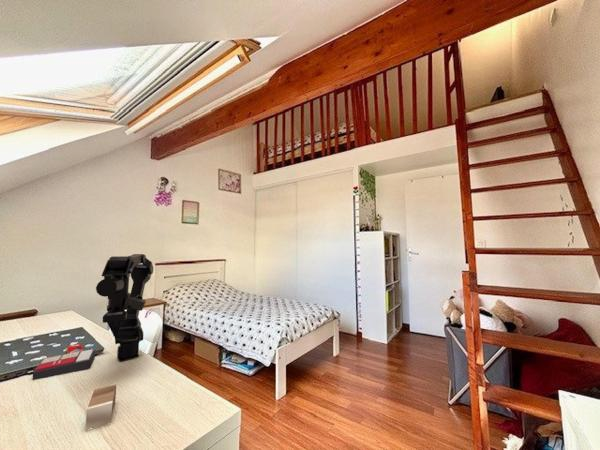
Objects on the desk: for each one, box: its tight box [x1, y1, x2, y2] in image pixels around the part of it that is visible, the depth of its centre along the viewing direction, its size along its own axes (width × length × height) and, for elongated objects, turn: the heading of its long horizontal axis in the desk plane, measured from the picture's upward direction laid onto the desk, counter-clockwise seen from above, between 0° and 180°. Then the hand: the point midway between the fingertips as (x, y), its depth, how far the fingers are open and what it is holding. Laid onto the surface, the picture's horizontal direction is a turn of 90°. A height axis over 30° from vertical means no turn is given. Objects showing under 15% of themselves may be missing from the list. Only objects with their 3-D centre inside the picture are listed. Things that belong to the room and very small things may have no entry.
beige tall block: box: [85, 384, 117, 431], centre depth 67 cm, size 5×5×10 cm
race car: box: [65, 343, 85, 354], centre depth 103 cm, size 13×5×4 cm, turn 45°
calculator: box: [32, 348, 96, 381], centre depth 92 cm, size 11×4×15 cm
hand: (115, 336), depth 89 cm, fingers closed
